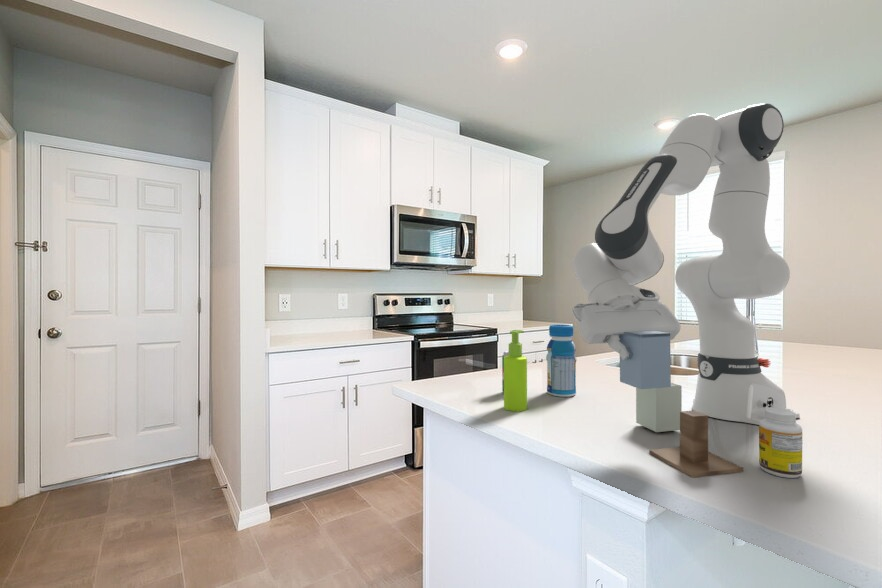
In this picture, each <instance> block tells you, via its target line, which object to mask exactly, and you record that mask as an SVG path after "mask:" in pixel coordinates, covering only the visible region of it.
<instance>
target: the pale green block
mask: <svg viewBox="0 0 882 588" xmlns="http://www.w3.org/2000/svg"><path fill="white" fill-rule="evenodd" d="M682 388H683V387H682V385H681V384H677V383H673V382H671V387H665V388H652V389H639V388H636V387H635V392H636V393H635V396H636V397H635V413H636V414H635V420H636V421H635V423H636V424H638V425H640V426H642V427H644V428H647V430H648V429H649V430H651V431H653V432H655V433H661V432H672V431H673V432H674V431H680V411H683V410H682V402H683V401H682V398H683V396H682V391H683V390H682Z"/></svg>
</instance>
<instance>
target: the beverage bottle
mask: <svg viewBox="0 0 882 588" xmlns="http://www.w3.org/2000/svg"><path fill="white" fill-rule="evenodd" d="M548 330H549V331H548V332H549V333H548V334H549V337H550V340H549V341H548V343H547V346H546V351H547V354H546V356H545V357H546V363H547V364H546V368H547V369H546V371H547V376H546V377H547V378H546V379H547V382H546V384H547V385H546V393H547V394H549V396H553V397H558V398H568V397H573V396H575V395H576V394H577V389H576V387H577V385H576V384H577V382H576V375H577V374H576V373H577V371H576V370H577V369H576V366H577V365H576V364H577V355H576V353H575V352H576V350H577V346H576V345H575V343H574V341H573V340H572V338H573V337H574V326H573V325H571V324H570V325H569V324H550V325H549V327H548Z"/></svg>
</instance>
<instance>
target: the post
mask: <svg viewBox="0 0 882 588" xmlns="http://www.w3.org/2000/svg"><path fill="white" fill-rule="evenodd" d="M648 452H649V454H650V455H652V456H654V457H655V458H656V459H659V460H660V461H662V462H664V463H666V464H668V465H669V466H671V467H674V468H675V469H677V470H679V471H680V472H682V473H684V474H685V475H687V476H688V477H691V478H697V477H704V476H705V477H707V476H714V475H716V476H717V475H724V474H725V475H726V474H733V473H741V472H744V467H743V466H740V465H738V464H737V463H735V462H732V461H729V460H727V459H725V458H723V457H721V456H718V455H717V454H715V453H712V452H710V451H709V416H708V415H706V414H703V413H700V412H697V411H695V410H693V409H692V410H684V411H683V410H682V411H680V430H679V446H675V447H666V448H665V447H663V448H655V449H649V450H648Z"/></svg>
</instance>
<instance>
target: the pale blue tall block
mask: <svg viewBox="0 0 882 588" xmlns="http://www.w3.org/2000/svg"><path fill="white" fill-rule="evenodd" d="M619 338H620V340H619V342H621V343H622V344H623V345H624V346H625V347H630V349H631V351H632V352H633V356H632V357H631V359H626V360H623V359H622V358H621V356H620V355H619V382H620V383H623V384H626V385H628V386H630V387H634V388H635V389H636V388H639V389H652V388H665V387H671V383H672V375H671V374H672V373H671V371H672V370H671V368H672V367H671V363H672V362H671V361H672V360H671V359H672V358H671V340H670V333H666V332H659V331H632V332H624V334H620V336H619Z"/></svg>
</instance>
